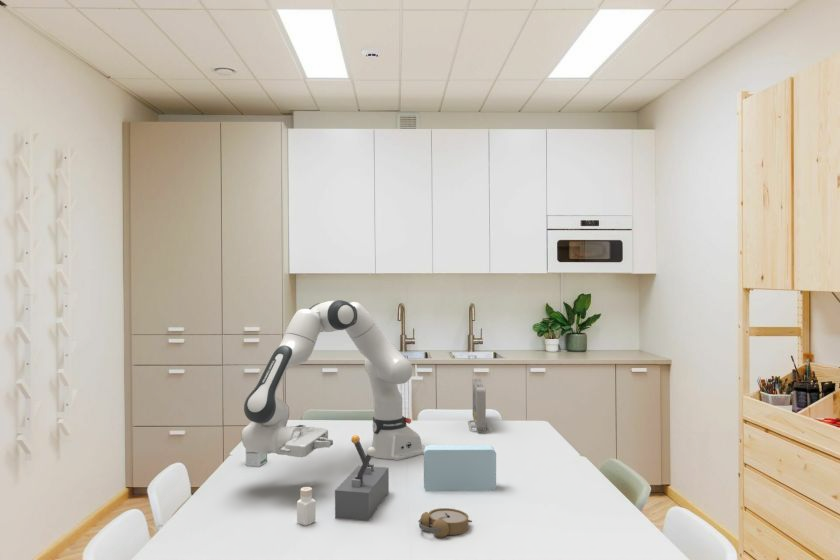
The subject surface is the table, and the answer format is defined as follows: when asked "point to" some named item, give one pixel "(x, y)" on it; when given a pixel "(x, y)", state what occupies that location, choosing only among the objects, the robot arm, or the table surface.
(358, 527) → the table surface
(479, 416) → the network device
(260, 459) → the syrup box
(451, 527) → the alarm clock
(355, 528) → the table surface
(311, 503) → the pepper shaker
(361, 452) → the orange lever
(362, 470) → the grey lever
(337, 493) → the switch box
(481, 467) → the light blue rounded box
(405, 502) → the table surface
